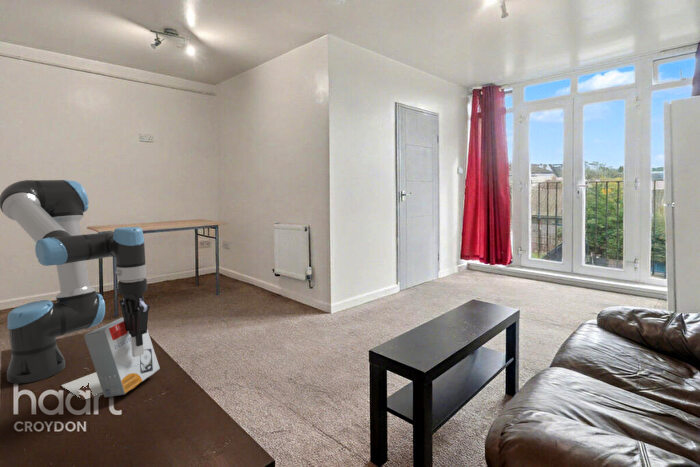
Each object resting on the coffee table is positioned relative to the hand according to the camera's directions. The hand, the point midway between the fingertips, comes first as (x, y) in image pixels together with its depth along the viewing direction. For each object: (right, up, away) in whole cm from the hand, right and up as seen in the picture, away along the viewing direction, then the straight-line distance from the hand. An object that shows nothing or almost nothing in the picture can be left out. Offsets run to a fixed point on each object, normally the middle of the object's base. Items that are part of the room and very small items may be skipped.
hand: (138, 354), depth 115 cm
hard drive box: (-3, -10, +3) cm, 11 cm away
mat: (-15, -11, +6) cm, 20 cm away
